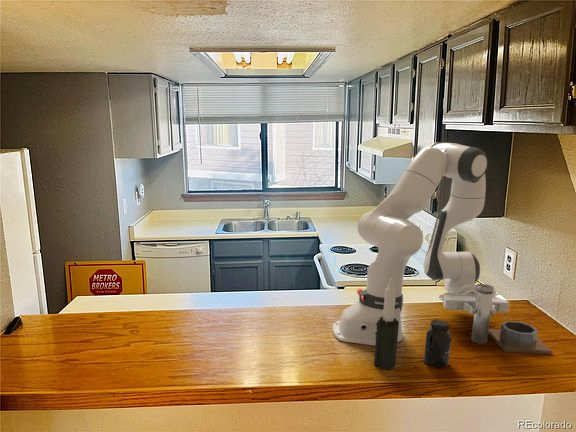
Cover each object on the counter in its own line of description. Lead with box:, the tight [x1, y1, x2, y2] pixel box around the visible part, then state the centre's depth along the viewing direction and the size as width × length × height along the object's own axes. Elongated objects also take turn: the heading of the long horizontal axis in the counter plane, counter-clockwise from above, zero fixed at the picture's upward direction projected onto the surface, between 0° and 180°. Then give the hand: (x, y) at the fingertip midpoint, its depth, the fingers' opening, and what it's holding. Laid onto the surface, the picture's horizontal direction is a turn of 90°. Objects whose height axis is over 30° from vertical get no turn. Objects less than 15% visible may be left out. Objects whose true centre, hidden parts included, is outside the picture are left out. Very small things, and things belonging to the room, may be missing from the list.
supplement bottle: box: [423, 319, 452, 369], centre depth 128 cm, size 7×7×12 cm
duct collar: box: [488, 320, 553, 355], centre depth 143 cm, size 14×14×5 cm
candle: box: [373, 279, 399, 371], centre depth 124 cm, size 5×5×25 cm
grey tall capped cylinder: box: [470, 283, 495, 345], centre depth 142 cm, size 5×5×18 cm
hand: (483, 311), depth 141 cm, fingers closed on grey tall capped cylinder, 5 cm apart
